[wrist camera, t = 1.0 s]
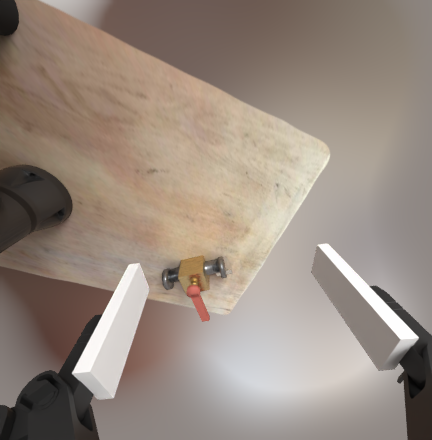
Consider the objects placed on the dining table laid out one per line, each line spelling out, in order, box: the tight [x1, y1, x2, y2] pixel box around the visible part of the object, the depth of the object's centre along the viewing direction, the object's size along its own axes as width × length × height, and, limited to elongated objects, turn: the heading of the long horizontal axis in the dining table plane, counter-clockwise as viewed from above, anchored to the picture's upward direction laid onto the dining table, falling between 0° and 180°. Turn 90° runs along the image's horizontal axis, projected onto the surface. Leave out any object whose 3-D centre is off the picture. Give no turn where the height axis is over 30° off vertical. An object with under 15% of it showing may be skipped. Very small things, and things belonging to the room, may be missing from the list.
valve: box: [162, 256, 232, 293], centre depth 54 cm, size 20×9×9 cm, turn 104°
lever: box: [186, 285, 210, 321], centre depth 52 cm, size 14×4×1 cm, turn 14°
